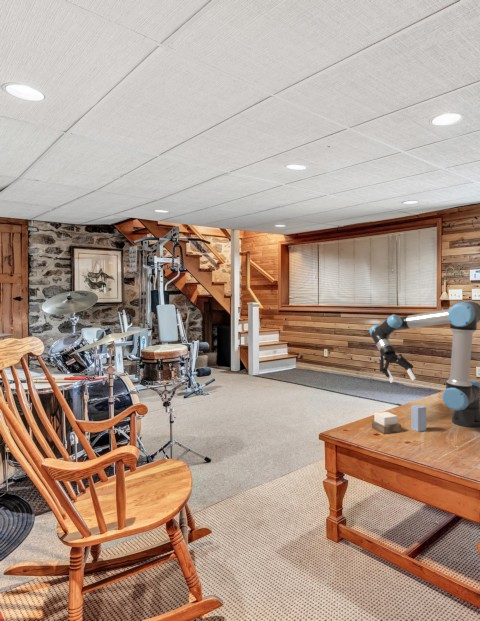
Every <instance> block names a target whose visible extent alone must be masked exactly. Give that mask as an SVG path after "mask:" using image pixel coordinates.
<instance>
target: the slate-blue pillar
mask: <svg viewBox="0 0 480 621" xmlns="http://www.w3.org/2000/svg"><path fill="white" fill-rule="evenodd" d="M410 424H411V425H410V427H411V428H410V429H411V430H413V431H416V432H426V431H427V406H424V405H421V404H413V405H411V406H410Z"/></svg>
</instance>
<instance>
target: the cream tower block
mask: <svg viewBox="0 0 480 621" xmlns="http://www.w3.org/2000/svg"><path fill="white" fill-rule="evenodd" d="M398 417H399V416H398V415H396V414H393V413H392V412H389V411H383V412H375V413H374V420H373V421H375V422H377V423H379V424H382V425H384V426H387V425H393V424H399V423H398Z"/></svg>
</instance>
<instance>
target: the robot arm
mask: <svg viewBox="0 0 480 621" xmlns="http://www.w3.org/2000/svg"><path fill="white" fill-rule="evenodd" d="M478 322H479V323H480V304H479V303H477V302H475V301H460V302H458V303H457V302H456V303H455V304H453V305H451V307H450V308H447V309H442V310H435V311H430V312H424V313H423V312H422V313H417V314H412V315H410V314H409V315H404V316H399V315H397V314H394V313H393V314H391V315H390V316H388V317H387V318H386V320H384V321H383V322H382V323H381V324H373V326H371V327H370V328H369V330H368V332H369V334H370V337H371V339H372V340H373V342H374V344H375V346H376V348H377V350H378V351H379V353H380V356H379V357H378V361H379V372H380V373H383V374H384V375H385V377H386V378H388V380H389V382H390V384H393V383H394V381H395V379H394V377H393V375H392V373H391V371H390V370H389V365H391V364H396V365H399V366H400V367H402V368H403V369H405V370H406V373H407V374H408V376H409V378H410V380H411V381H412V382H414V381H415V380H416V379H417V378H416V376H415V374H414V370H413V368H414V365H413V364H412V363H411V362H410V361H408V360H407V359H406V358H405V357H404V356H403V355H402V354H401V353H399V354H396V351H395V349H394V347H393V345H392V343H391V341H390V340H389V338H388V337H389V336H390V335H391V334H393V333H394V332H397V331H402V330H409V329H418V328H425V327H431V326H441V325H446V324H449V329H450V330H451V331H452V344H451V356H450V370H449V372H450V373H449V374H450V375H449V378H448V379H447V380H446V382H445V383H446V384H445V390H443V392H442V395H441V396H442V397H441V398H442V402H443V403H444V405H445V406H446V407H447V408H448V409H450V410H452V411H453V412H452V415H451V423H453V424H454V425H456V426H462V427H466V428H480V382H479V381H478V380H472V379H470V373H471V361H472V360H471V359H472V358H471V357H472V345H473V334H474V333H475V332H476V331H477V326H478ZM384 361H385V362H384Z"/></svg>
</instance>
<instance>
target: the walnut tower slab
mask: <svg viewBox="0 0 480 621" xmlns="http://www.w3.org/2000/svg"><path fill="white" fill-rule="evenodd" d="M371 429H372V430H374V431H377V432H378V433H380V434H382V435H387V434H388V435H389V434H394V433H401V432H402V424H400V423H398V424H393V425H387V426H384V425H382V424H379V423H377V422H375V421H374V420H372V421H371Z"/></svg>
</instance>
